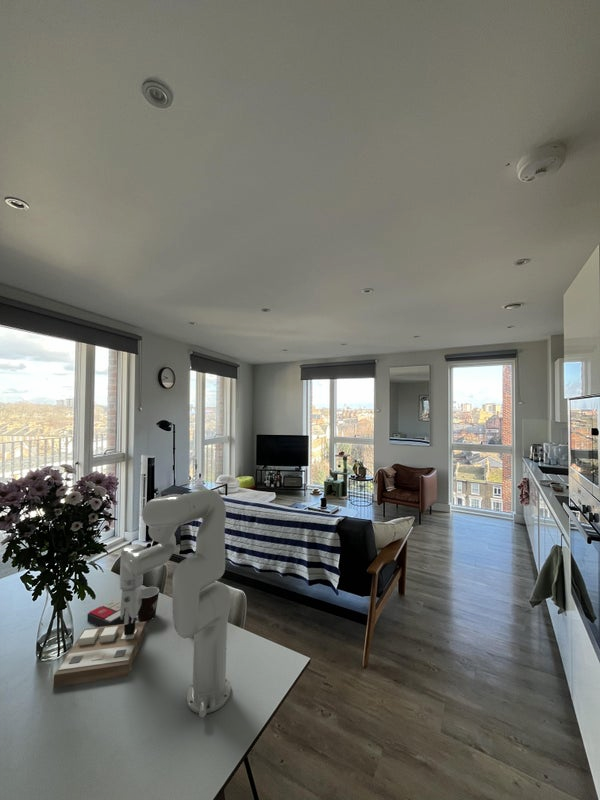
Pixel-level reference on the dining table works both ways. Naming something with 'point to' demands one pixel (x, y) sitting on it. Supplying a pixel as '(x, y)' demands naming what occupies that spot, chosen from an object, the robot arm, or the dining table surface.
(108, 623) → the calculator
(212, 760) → the dining table surface
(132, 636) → the button
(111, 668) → the board
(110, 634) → the button
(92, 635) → the button
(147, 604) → the coffee mug
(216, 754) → the dining table surface
